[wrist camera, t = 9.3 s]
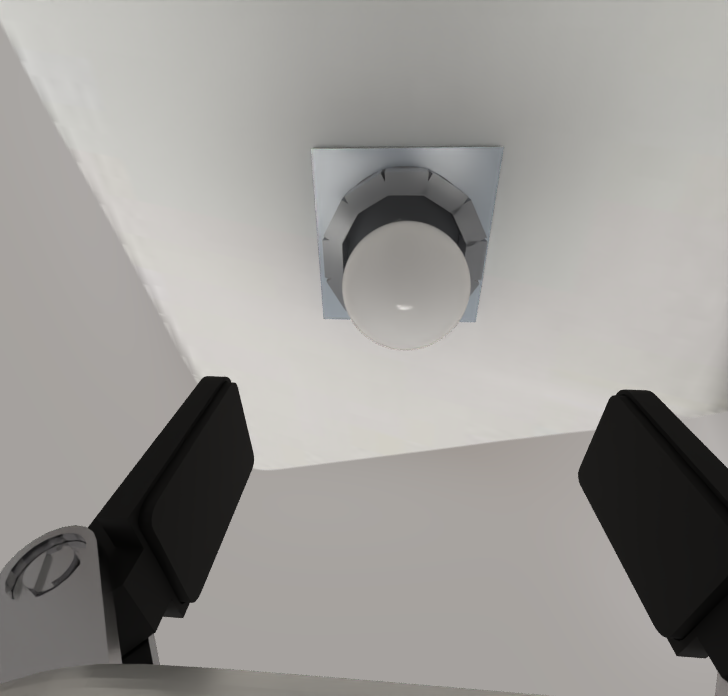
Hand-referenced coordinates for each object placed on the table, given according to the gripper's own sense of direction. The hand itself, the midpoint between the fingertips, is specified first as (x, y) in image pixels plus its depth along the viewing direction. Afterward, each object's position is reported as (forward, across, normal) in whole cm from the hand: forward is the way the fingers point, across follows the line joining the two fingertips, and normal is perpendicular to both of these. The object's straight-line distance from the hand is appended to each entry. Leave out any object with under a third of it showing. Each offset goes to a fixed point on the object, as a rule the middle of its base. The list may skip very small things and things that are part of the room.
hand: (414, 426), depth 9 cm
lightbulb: (+18, 0, 0) cm, 18 cm away
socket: (+20, 0, 0) cm, 20 cm away
